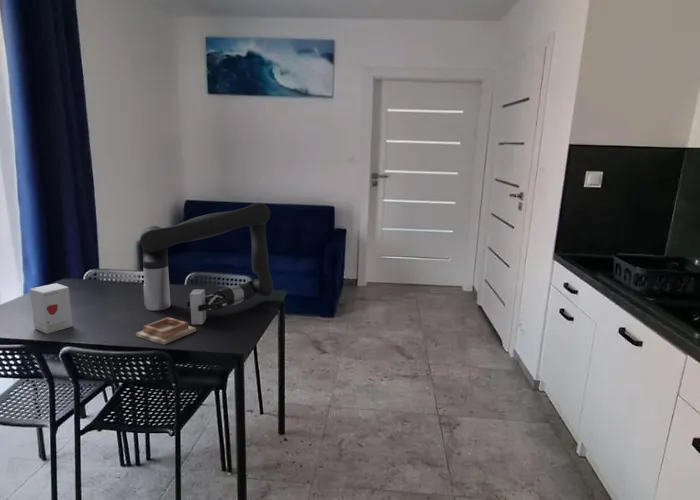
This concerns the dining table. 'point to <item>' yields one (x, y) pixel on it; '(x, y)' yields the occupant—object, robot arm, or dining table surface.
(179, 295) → the dining table surface
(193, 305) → the skincare box
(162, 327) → the serum stand
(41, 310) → the supplement box
